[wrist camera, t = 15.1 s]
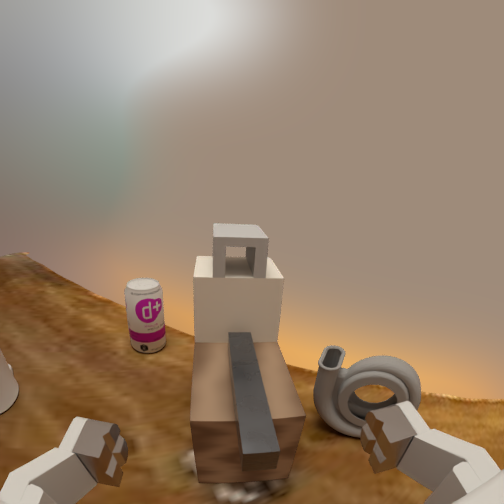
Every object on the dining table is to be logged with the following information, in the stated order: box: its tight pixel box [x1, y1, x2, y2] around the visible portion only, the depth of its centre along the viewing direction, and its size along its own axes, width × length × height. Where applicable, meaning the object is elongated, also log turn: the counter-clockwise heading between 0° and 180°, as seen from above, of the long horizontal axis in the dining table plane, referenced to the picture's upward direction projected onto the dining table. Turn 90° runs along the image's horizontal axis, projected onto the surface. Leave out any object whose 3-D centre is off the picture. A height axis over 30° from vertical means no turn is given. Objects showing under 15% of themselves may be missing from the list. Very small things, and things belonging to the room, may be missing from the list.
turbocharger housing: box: [314, 346, 421, 438], centre depth 38 cm, size 17×6×15 cm, turn 64°
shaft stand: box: [193, 224, 284, 343], centre depth 46 cm, size 12×10×29 cm
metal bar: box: [228, 332, 280, 471], centre depth 29 cm, size 3×20×3 cm, turn 7°
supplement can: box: [124, 278, 166, 353], centre depth 59 cm, size 8×8×15 cm
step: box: [190, 342, 306, 483], centre depth 35 cm, size 12×16×14 cm
